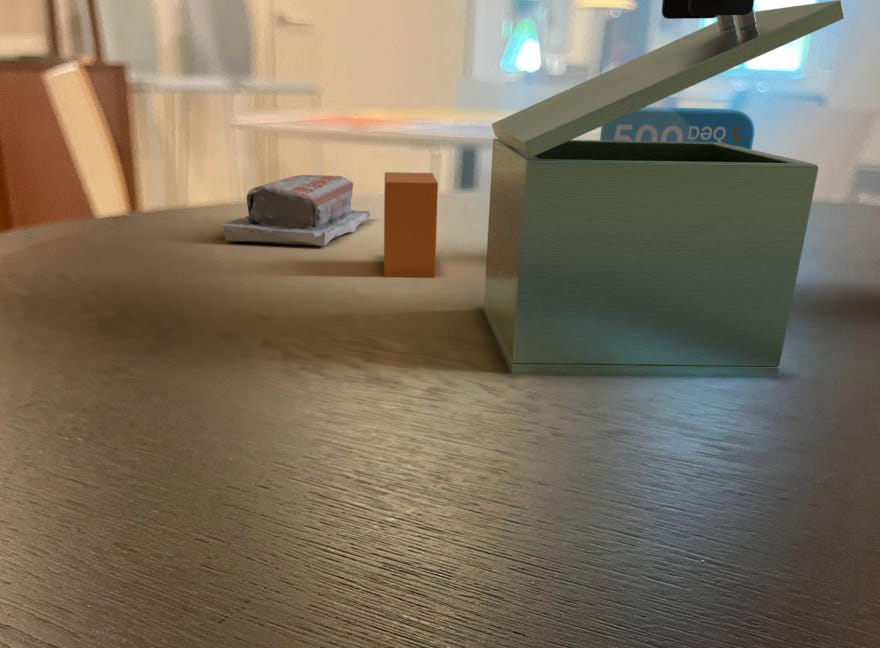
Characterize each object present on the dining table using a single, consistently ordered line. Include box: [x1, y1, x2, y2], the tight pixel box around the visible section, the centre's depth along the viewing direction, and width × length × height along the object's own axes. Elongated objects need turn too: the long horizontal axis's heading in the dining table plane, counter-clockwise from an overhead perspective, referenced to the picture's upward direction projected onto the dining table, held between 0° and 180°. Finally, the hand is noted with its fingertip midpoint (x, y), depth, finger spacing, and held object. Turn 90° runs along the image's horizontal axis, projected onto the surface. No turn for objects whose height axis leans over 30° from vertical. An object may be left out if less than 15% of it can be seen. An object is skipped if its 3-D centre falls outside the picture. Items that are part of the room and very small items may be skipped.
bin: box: [483, 138, 820, 378], centre depth 60 cm, size 15×17×11 cm
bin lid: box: [491, 0, 845, 158], centre depth 55 cm, size 16×17×6 cm
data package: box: [599, 106, 755, 150], centre depth 86 cm, size 12×4×12 cm, turn 82°
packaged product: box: [222, 174, 371, 247], centre depth 100 cm, size 18×5×10 cm
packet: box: [383, 171, 439, 279], centre depth 83 cm, size 4×8×7 cm, turn 1°
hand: (704, 12), depth 54 cm, fingers closed on bin lid, 4 cm apart
